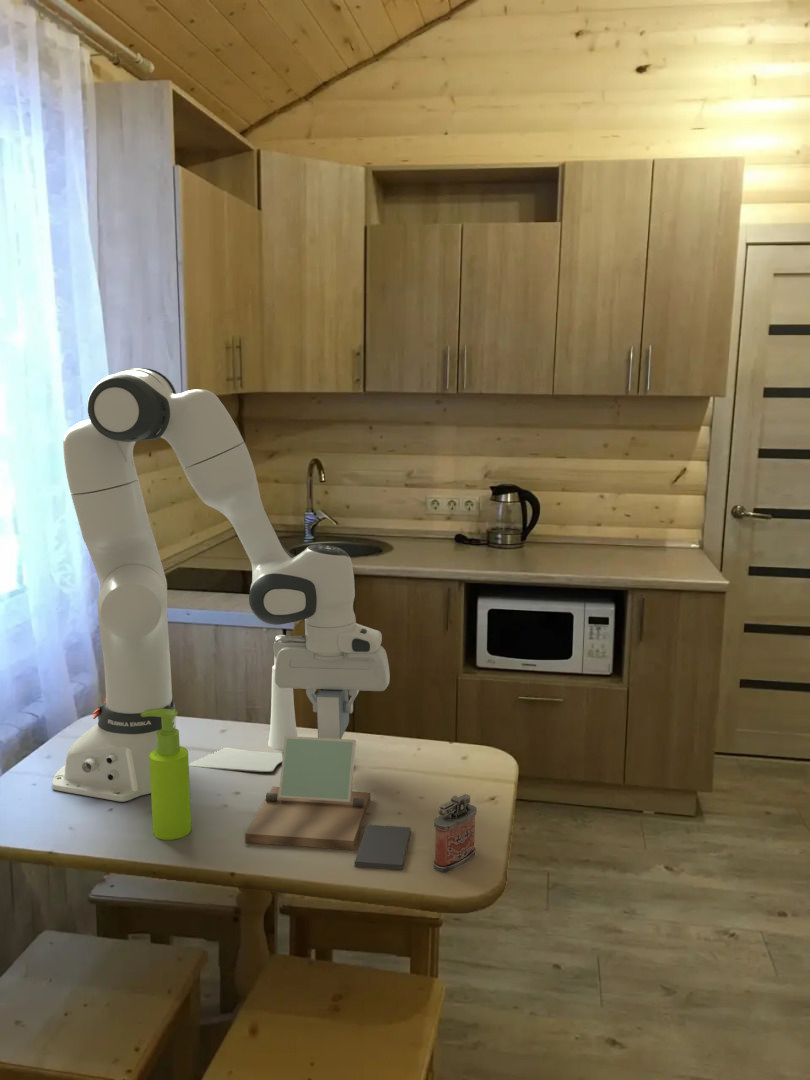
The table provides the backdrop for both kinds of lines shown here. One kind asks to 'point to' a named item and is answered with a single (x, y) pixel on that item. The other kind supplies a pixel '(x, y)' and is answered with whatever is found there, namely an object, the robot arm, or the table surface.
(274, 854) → the table surface
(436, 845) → the lighter
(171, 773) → the soap dispenser
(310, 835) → the hinge board
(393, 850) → the pad
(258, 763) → the kitchen cleaver
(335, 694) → the grey rectangular prism
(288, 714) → the cosmetic bottle
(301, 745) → the tile
